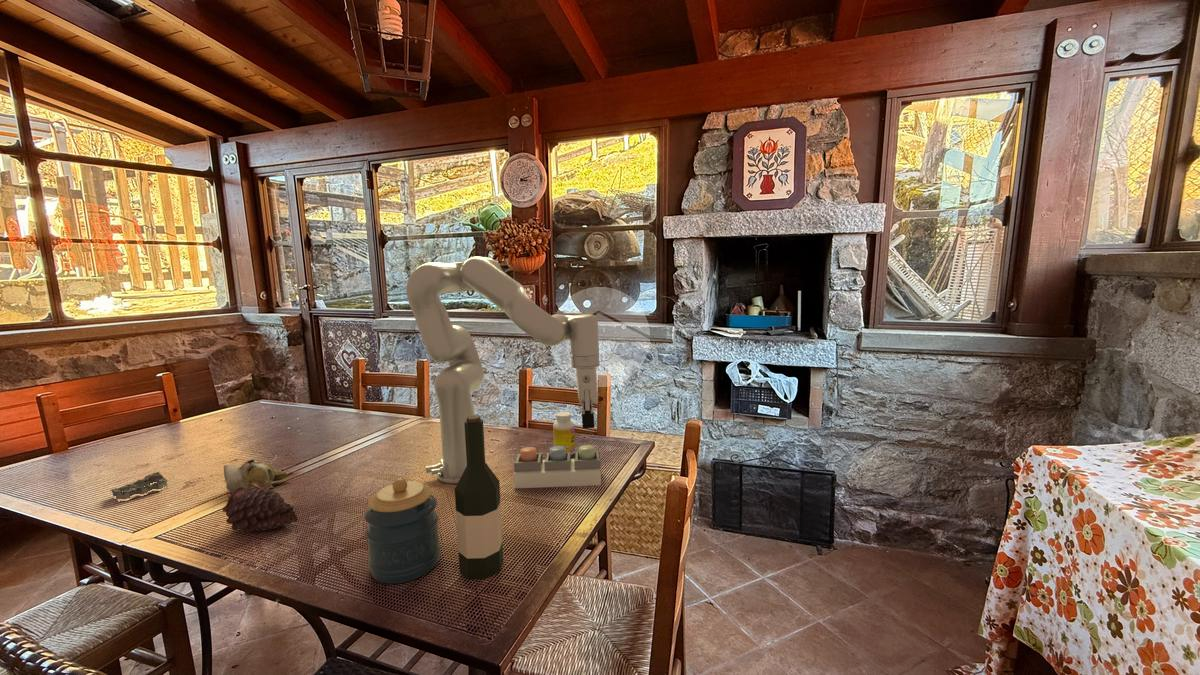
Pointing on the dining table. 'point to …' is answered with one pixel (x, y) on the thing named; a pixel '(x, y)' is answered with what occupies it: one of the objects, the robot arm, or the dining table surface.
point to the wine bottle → (478, 509)
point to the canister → (402, 532)
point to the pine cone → (257, 510)
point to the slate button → (557, 453)
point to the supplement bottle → (564, 432)
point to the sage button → (586, 452)
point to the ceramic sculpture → (252, 475)
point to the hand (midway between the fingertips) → (588, 427)
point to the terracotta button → (528, 454)
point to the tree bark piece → (140, 486)
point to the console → (557, 472)
